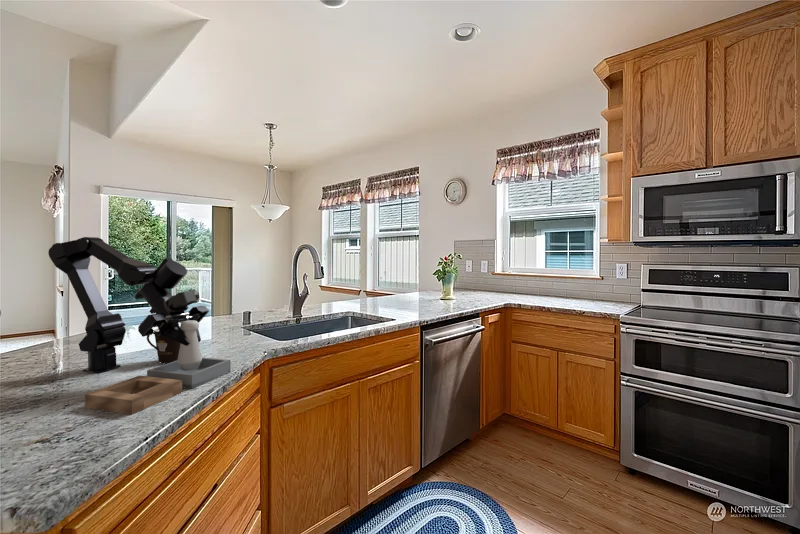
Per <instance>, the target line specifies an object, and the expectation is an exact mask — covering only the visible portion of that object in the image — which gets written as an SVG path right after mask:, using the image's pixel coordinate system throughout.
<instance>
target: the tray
mask: <svg viewBox="0 0 800 534" xmlns="http://www.w3.org/2000/svg"><path fill="white" fill-rule="evenodd" d="M231 367H232V366H231V359H227V358H226V359H222V358H213V357H205V356H202V361H201V363H200V365H199V367H198V369H195V370H190V371H184V370H181V368H180V366H179V364H178V361H174V362H171V363H167V364H162V365H159V366H155V367H153V368H151V369H147V370H146V376H149V377H158V378H167V379H175V380H182V389H190V390H193V389H196V388H197V387H200V386H202V385H204V384H207V383H209V382H211V381H214V380H216V379H219V378H220V377H223V376H225V375H227V374H229V373H231Z"/></svg>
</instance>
